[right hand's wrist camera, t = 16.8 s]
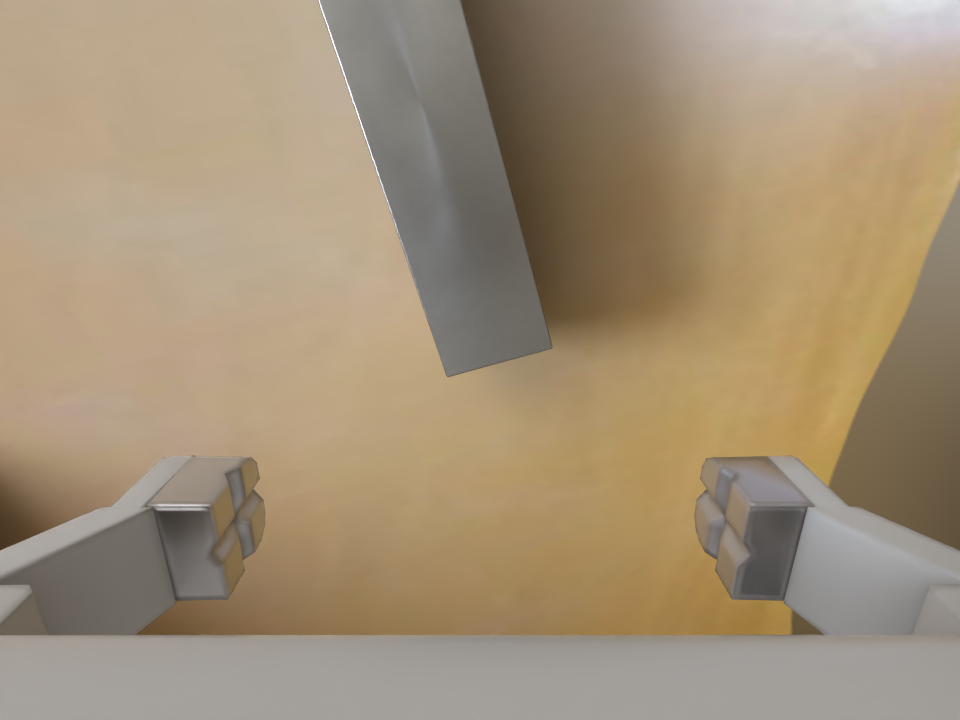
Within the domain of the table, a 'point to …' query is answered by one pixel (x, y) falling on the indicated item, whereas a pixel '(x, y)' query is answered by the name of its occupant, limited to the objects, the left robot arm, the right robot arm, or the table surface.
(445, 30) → the bar
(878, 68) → the table surface
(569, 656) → the right robot arm
